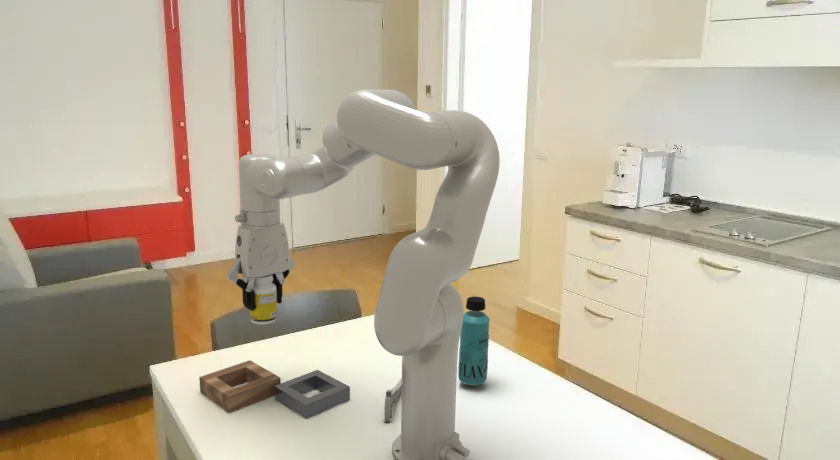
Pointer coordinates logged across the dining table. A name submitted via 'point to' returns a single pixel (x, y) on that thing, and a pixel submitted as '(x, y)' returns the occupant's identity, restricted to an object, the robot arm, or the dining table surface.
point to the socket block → (308, 407)
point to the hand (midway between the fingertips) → (263, 304)
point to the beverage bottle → (474, 343)
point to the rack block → (233, 399)
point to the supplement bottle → (264, 301)
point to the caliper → (391, 400)
